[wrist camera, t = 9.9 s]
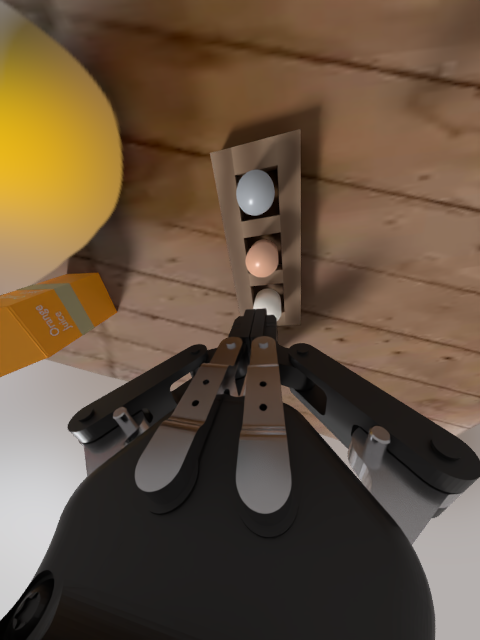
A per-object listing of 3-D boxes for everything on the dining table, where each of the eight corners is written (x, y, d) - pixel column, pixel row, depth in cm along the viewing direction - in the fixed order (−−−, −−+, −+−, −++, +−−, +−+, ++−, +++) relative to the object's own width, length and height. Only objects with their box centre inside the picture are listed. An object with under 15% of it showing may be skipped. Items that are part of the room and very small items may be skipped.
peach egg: (277, 236, 25) (277, 241, 22) (278, 267, 27) (279, 275, 23) (247, 241, 26) (243, 246, 22) (251, 270, 28) (247, 279, 24)
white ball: (280, 287, 28) (280, 298, 25) (281, 310, 30) (282, 323, 27) (253, 289, 29) (250, 300, 26) (256, 312, 31) (254, 325, 28)
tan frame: (297, 137, 22) (300, 128, 19) (298, 315, 34) (300, 324, 31) (217, 158, 24) (210, 153, 22) (244, 318, 36) (242, 327, 33)
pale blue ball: (273, 171, 22) (272, 165, 18) (275, 211, 24) (275, 212, 20) (239, 179, 23) (233, 174, 19) (244, 216, 24) (239, 218, 21)
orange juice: (98, 272, 36) (-59, 330, 19) (117, 312, 40) (4, 388, 24) (65, 273, 37) (-108, 328, 21) (87, 312, 42) (-40, 384, 25)
